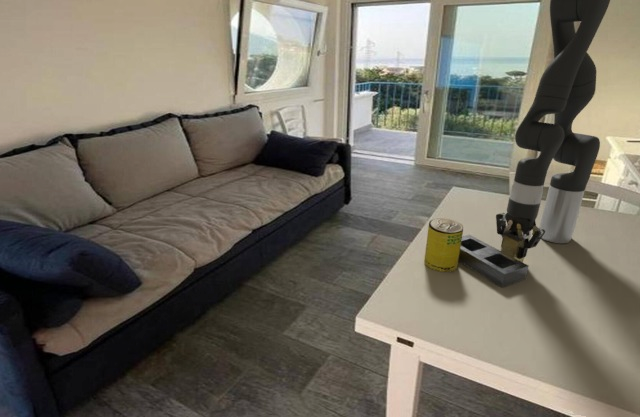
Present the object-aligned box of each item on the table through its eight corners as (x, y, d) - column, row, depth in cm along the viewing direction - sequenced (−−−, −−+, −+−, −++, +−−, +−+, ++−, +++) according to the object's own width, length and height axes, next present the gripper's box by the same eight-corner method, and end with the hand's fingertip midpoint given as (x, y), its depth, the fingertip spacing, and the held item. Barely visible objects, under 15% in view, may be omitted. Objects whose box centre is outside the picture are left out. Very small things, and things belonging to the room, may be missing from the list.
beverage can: (460, 260, 108) (466, 222, 104) (453, 275, 101) (459, 235, 97) (429, 252, 113) (433, 215, 108) (420, 266, 106) (424, 227, 101)
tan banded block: (509, 255, 111) (515, 227, 107) (523, 262, 107) (530, 234, 104) (498, 259, 109) (504, 231, 106) (512, 266, 105) (519, 237, 102)
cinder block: (467, 246, 116) (469, 234, 115) (525, 278, 100) (528, 265, 98) (445, 252, 113) (446, 240, 111) (501, 287, 96) (504, 274, 94)
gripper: (560, 204, 96) (544, 262, 103) (511, 187, 108) (500, 240, 115) (540, 209, 93) (526, 269, 100) (493, 191, 105) (482, 246, 112)
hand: (512, 253), depth 107 cm, fingers closed on tan banded block, 4 cm apart
